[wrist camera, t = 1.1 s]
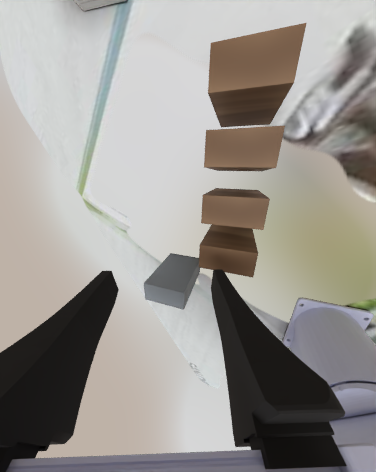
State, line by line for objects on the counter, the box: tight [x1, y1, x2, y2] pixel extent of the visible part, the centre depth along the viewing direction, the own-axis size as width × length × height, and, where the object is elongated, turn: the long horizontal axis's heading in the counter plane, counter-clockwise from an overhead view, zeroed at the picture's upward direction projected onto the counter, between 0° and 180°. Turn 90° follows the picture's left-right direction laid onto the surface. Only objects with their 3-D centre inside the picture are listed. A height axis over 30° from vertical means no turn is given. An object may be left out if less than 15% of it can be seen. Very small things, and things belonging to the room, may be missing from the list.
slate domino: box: [144, 254, 200, 309], centre depth 22 cm, size 2×5×8 cm, turn 88°
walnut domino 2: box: [204, 126, 285, 171], centre depth 14 cm, size 2×5×8 cm, turn 89°
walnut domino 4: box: [199, 224, 258, 277], centre depth 18 cm, size 2×5×8 cm, turn 88°
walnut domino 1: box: [208, 23, 306, 127], centre depth 13 cm, size 2×5×8 cm, turn 88°
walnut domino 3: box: [201, 188, 270, 230], centre depth 16 cm, size 2×5×8 cm, turn 89°
